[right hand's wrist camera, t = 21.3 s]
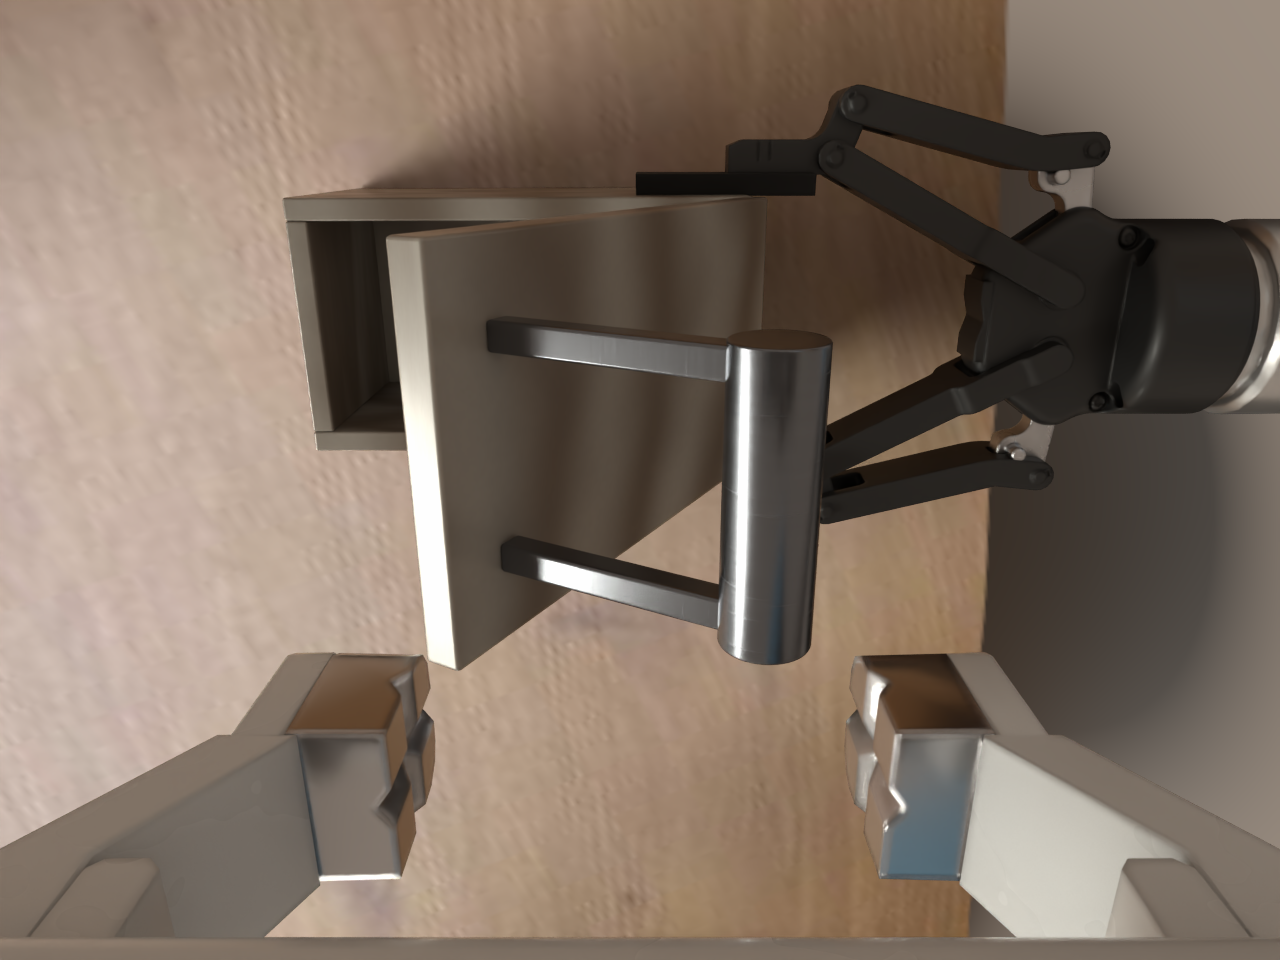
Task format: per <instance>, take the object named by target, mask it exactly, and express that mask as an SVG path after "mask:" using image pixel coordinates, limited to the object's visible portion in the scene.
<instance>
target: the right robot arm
mask: <svg viewBox="0 0 1280 960" xmlns="http://www.w3.org/2000/svg"><path fill="white" fill-rule="evenodd" d="M429 691H430V680H429V672H428V664H427V662H426V660H425V658H424V656H423V655H408V654H357V653H339V654H336V653H334V652H331V653H295V654H291V655H288V656H287V657H286V658H285V660H284V661H283V662H282V664H281V665H280V667H279V668H278V669H277V671H276V672H275V674H274V675H273V676H272V678H271V679H270V681H269V682H268V684H267V685H266V686H265V688H264V689H263V691H262V692H261V693H260V695H259V696H258V698H257V699H256V700H255V702H254V703H253V705H252V706H251V708H250V709H249V710H248V712H247V713H246V715H245V716H244V717H243V719H242V720H241V722H240V723H239V724H238V726H237V727H236V729H235V730H234V732H233V733H232V734H231V735H217V736H215V737H213V738H211V739H209V740H207V741H205V742H203V743H201V744H199V745H197V746H196V747H194V748H192V749H190V750H188V751H186V752H184V753H182V754H180V755H178V756H176V757H175V758H173V759H171V760H169V761H167V762H165V763H163V764H161V765H159V766H157V767H155V768H154V769H152V770H150V771H148V772H146V773H144V774H142V775H140V776H138V777H136V778H134V779H133V780H131V781H129V782H127V783H125V784H123V785H121V786H119V787H117V788H115V789H113V790H112V791H110V792H108V793H106V794H104V795H102V796H100V797H98V798H96V799H94V800H92V801H91V802H89V803H87V804H85V805H83V806H81V807H79V808H77V809H75V810H73V811H71V812H69V813H68V814H66V815H64V816H62V817H60V818H58V819H56V820H54V821H52V822H50V823H48V824H47V825H45V826H43V827H41V828H39V829H37V830H35V831H33V832H31V833H29V834H27V835H26V836H24V837H22V838H20V839H18V840H16V841H14V842H12V843H10V844H8V845H6V846H5V847H3V848H1V849H0V960H1280V849H1279V848H1277V847H1275V846H1273V845H1271V844H1269V843H1267V842H1265V841H1263V840H1261V839H1260V838H1258V837H1256V836H1254V835H1252V834H1250V833H1248V832H1246V831H1244V830H1242V829H1240V828H1239V827H1237V826H1235V825H1233V824H1231V823H1229V822H1227V821H1225V820H1223V819H1221V818H1220V817H1218V816H1216V815H1214V814H1212V813H1210V812H1208V811H1206V810H1204V809H1202V808H1200V807H1199V806H1197V805H1195V804H1193V803H1191V802H1189V801H1187V800H1185V799H1183V798H1181V797H1180V796H1178V795H1176V794H1174V793H1172V792H1170V791H1168V790H1166V789H1164V788H1162V787H1161V786H1159V785H1157V784H1155V783H1153V782H1151V781H1149V780H1147V779H1145V778H1143V777H1141V776H1140V775H1138V774H1136V773H1134V772H1132V771H1130V770H1128V769H1126V768H1124V767H1122V766H1120V765H1119V764H1117V763H1115V762H1113V761H1111V760H1109V759H1107V758H1105V757H1103V756H1101V755H1100V754H1098V753H1096V752H1094V751H1092V750H1090V749H1088V748H1086V747H1084V746H1082V745H1081V744H1079V743H1077V742H1075V741H1073V740H1071V739H1069V738H1067V737H1065V736H1063V735H1049V734H1048V733H1047V732H1046V730H1045V729H1044V727H1043V726H1042V725H1041V723H1040V722H1039V720H1038V719H1037V718H1036V716H1035V715H1034V713H1033V712H1032V711H1031V709H1030V708H1029V706H1028V705H1027V704H1026V702H1025V701H1024V699H1023V698H1022V697H1021V695H1020V694H1019V692H1018V691H1017V690H1016V688H1015V687H1014V685H1013V684H1012V683H1011V681H1010V680H1009V678H1008V677H1007V676H1006V674H1005V673H1004V671H1003V670H1002V669H1001V667H1000V666H999V664H998V663H997V662H996V660H995V659H994V658H993V656H991V655H989V654H987V653H985V652H976V653H951V654H912V655H872V656H855V659H854V662H853V666H852V670H851V679H850V691H851V693H852V696H853V699H854V701H855V704H856V707H857V710H856V711H855V712H854V713H853V714H852V715H851V716H850V718H849V719H848V720H847V721H846V734H845V762H846V773H847V779H848V784H849V788H850V792H851V795H852V798H853V801H854V804H855V805H857V806H858V807H859V808H860V809H862V810H863V811H864V812H866V815H865V825H864V835H865V838H866V841H867V844H868V847H869V850H870V853H871V856H872V859H873V862H874V864H875V867H876V870H877V873H878V876H879V879H912V880H948V881H960V885H961V886H962V887H963V888H964V889H965V890H966V891H967V892H968V893H969V894H970V895H972V896H973V897H974V898H975V899H976V900H977V901H978V902H979V903H980V904H981V905H982V906H983V907H984V908H986V909H987V910H988V911H989V912H990V913H991V914H992V915H993V916H994V917H995V918H996V919H997V920H998V921H1000V922H1001V923H1002V924H1003V925H1004V926H1005V927H1006V928H1007V929H1008V930H1009V931H1010V932H1011V933H1012V934H1014V935H1015V936H1016V937H265V936H266V935H267V934H268V933H269V932H270V931H271V930H272V929H273V928H274V927H275V926H277V925H278V924H279V923H280V922H281V921H282V920H283V919H284V918H285V917H286V916H287V915H288V914H290V913H291V912H292V911H293V910H294V909H295V908H296V907H297V906H298V905H299V904H300V903H301V902H302V901H304V900H305V899H306V898H307V897H308V896H309V895H310V894H311V893H312V892H313V891H314V890H315V889H317V888H318V887H319V886H320V881H331V880H366V879H401V877H402V874H403V871H404V868H405V865H406V862H407V859H408V856H409V853H410V850H411V847H412V844H413V841H414V838H415V835H416V825H415V815H414V812H416V811H417V810H418V809H420V808H421V807H422V806H423V805H425V804H426V801H427V798H428V795H429V791H430V788H431V785H432V778H433V771H434V764H435V731H434V721H433V720H432V719H431V718H430V716H429V715H428V714H427V713H426V712H425V711H424V710H423V707H424V704H425V701H426V699H427V696H428V693H429Z"/></svg>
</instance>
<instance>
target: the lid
mask: <svg viewBox="0 0 1280 960" xmlns="http://www.w3.org/2000/svg"><path fill="white" fill-rule="evenodd" d="M766 219H767V198H765V197H739V198H730V199H721V200H711V201H702V202H692V203H683V204H674V205H664V206H655V207H646V208H636V209H627V210H618V211H608V212H599V213H590V214H580V215H571V216H561V217H552V218H543V219H533V220H524V221H515V222H505V223H496V224H487V225H477V226H468V227H458V228H449V229H440V230H430V231H421V232H412V233H402V234H393V235H389V236H388V237H387V238H386V245H387V255H388V266H389V276H390V286H391V296H392V306H393V316H394V326H395V336H396V346H397V356H398V366H399V376H400V386H401V396H402V406H403V416H404V426H405V436H406V446H407V456H408V467H409V477H410V487H411V497H412V507H413V517H414V527H415V537H416V547H417V557H418V567H419V577H420V587H421V597H422V607H423V617H424V627H425V637H426V647H427V657H428V660H429V661H430V662H432V663H435V664H438V665H441V666H444V667H447V668H450V669H453V670H455V671H459V670H462V669H463V668H464V667H466V666H467V665H468V664H470V663H471V662H473V661H474V660H475V659H477V658H478V657H480V656H481V655H482V654H484V653H485V652H486V651H488V650H489V649H491V648H492V647H493V646H495V645H496V644H498V643H499V642H500V641H502V640H503V639H504V638H506V637H507V636H509V635H510V634H511V633H513V632H514V631H516V630H517V629H518V628H520V627H521V626H522V625H524V624H525V623H527V622H528V621H529V620H531V619H532V618H534V617H535V616H536V615H538V614H539V613H540V612H542V611H543V610H545V609H546V608H547V607H549V606H550V605H552V604H553V603H554V602H556V601H557V600H558V599H560V598H561V597H563V596H564V595H565V594H567V593H568V592H570V591H571V590H574V591H578V592H581V593H585V594H589V595H592V596H596V597H600V598H603V599H607V600H611V601H615V602H618V603H622V604H626V605H629V606H633V607H637V608H640V609H644V610H648V611H651V612H655V613H659V614H662V615H666V616H670V617H673V618H677V619H681V620H684V621H688V622H692V623H695V624H699V625H703V626H706V627H710V628H714V629H717V630H718V631H717V639H718V642H719V644H720V646H721V647H722V649H723V650H724V651H725V652H726V653H728V654H729V655H731V656H733V657H735V658H737V659H739V660H742V661H745V662H749V663H754V664H761V665H778V664H785V663H789V662H793V661H795V660H798V659H800V658H801V657H803V656H804V655H805V654H806V653H807V652H808V650H809V649H810V646H811V637H812V623H813V610H814V596H815V582H816V568H817V554H818V540H819V527H820V513H821V499H822V485H823V471H824V458H825V444H826V430H827V416H828V402H829V388H830V375H831V361H832V347H833V342H832V340H831V339H830V338H828V337H826V336H823V335H820V334H817V333H812V332H805V331H797V330H781V329H765V330H762V310H763V287H764V264H765V242H766ZM720 482H722V500H721V533H720V566H719V584H715V583H711V582H706V581H702V580H698V579H694V578H690V577H686V576H682V575H678V574H674V573H670V572H666V571H662V570H658V569H654V568H650V567H645V566H641V565H637V564H633V563H629V562H625V561H621V560H617V559H615V558H617V557H618V556H619V555H621V554H622V553H623V552H625V551H626V550H628V549H629V548H630V547H632V546H633V545H635V544H636V543H637V542H639V541H640V540H641V539H643V538H644V537H646V536H647V535H648V534H650V533H651V532H653V531H654V530H655V529H657V528H658V527H659V526H661V525H662V524H664V523H665V522H666V521H668V520H669V519H671V518H672V517H673V516H675V515H676V514H677V513H679V512H680V511H682V510H683V509H684V508H686V507H687V506H689V505H690V504H691V503H693V502H694V501H695V500H697V499H698V498H700V497H701V496H702V495H704V494H705V493H707V492H708V491H709V490H711V489H712V488H713V487H715V486H716V485H718V484H719V483H720Z"/></svg>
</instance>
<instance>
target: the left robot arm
mask: <svg viewBox="0 0 1280 960" xmlns="http://www.w3.org/2000/svg"><path fill="white" fill-rule="evenodd" d="M862 130H866V131H870V132H873V133H877V134H880V135H884V136H888V137H891V138H895V139H898V140H902V141H906V142H909V143H913V144H916V145H920V146H924V147H927V148H931V149H934V150H938V151H942V152H945V153H949V154H952V155H956V156H960V157H963V158H967V159H970V160H974V161H978V162H981V163H985V164H988V165H992V166H995V167H1000V168H1005V169H1013V170H1027V171H1029V173H1028V179H1029V183H1030V185H1031V187H1032V188H1033V189H1035V190H1036V191H1040V192H1046V193H1048V194H1049V195H1051V196H1052V198H1053V199H1054V202H1055V209H1053V210H1052V211H1050V212H1049V213H1047V214H1046V215H1044V216H1043V217H1041V218H1040V219H1038V220H1037V221H1035V222H1034V223H1032V224H1031V225H1029V226H1028V227H1026V228H1025V229H1023V230H1022V231H1020V232H1019V233H1017V234H1016V235H1015V236H1013V237H1012V238H1009V237H1008V236H1006V235H1004V234H1003V233H1001V232H999V231H997V230H995V229H993V228H991V227H988V226H986V225H985V224H983V223H981V222H979V221H978V220H976V219H974V218H973V217H971V216H969V215H968V214H966V213H964V212H962V211H961V210H959V209H957V208H956V207H954V206H952V205H951V204H949V203H947V202H946V201H944V200H942V199H940V198H939V197H937V196H935V195H934V194H932V193H930V192H929V191H927V190H925V189H924V188H922V187H920V186H919V185H917V184H915V183H913V182H912V181H910V180H908V179H907V178H905V177H903V176H902V175H900V174H898V173H897V172H895V171H893V170H891V169H890V168H888V167H886V166H885V165H883V164H881V163H880V162H878V161H876V160H875V159H873V158H871V157H869V156H868V155H866V154H864V153H863V152H861V151H859V150H858V149H856V148H855V145H856V143H857V141H858V138H859V136H860V133H861V131H862ZM1109 152H1110V141H1109V139H1108V138H1107V136H1106V135H1104V134H1103V133H1101V132H1077V133H1060V134H1051V135H1039V134H1035V133H1032V132H1028V131H1024V130H1021V129H1017V128H1014V127H1010V126H1007V125H1003V124H1000V123H996V122H993V121H989V120H986V119H982V118H979V117H975V116H971V115H968V114H964V113H961V112H957V111H954V110H950V109H947V108H943V107H940V106H936V105H932V104H929V103H925V102H922V101H918V100H915V99H911V98H908V97H904V96H901V95H897V94H893V93H890V92H886V91H883V90H879V89H876V88H872V87H869V86H865V85H855V86H851V87H848V88H845V89H842V90H840V91H837V92H836V93H835V94H834V95H833V96H832V97H831V99H830V101H829V106H828V111H827V114H826V116H825V119H824V121H823V123H822V126H821V128H820V129H819V131H818V132H817V133H816V134H815V135H814V136H812V137H811V138H808V139H805V140H738V141H736V142H733V143H731V144H729V145H726V158H725V172H637V173H636V195H749V196H815V188H816V175H822V176H823V177H825V178H827V179H828V180H830V181H832V182H834V183H835V184H837V185H839V186H841V187H842V188H844V189H846V190H847V191H849V192H851V193H853V194H854V195H856V196H858V197H859V198H861V199H863V200H865V201H866V202H868V203H870V204H871V205H873V206H875V207H877V208H878V209H880V210H882V211H883V212H885V213H887V214H889V215H890V216H892V217H894V218H896V219H897V220H899V221H901V222H902V223H904V224H906V225H908V226H909V227H911V228H913V229H914V230H916V231H918V232H920V233H921V234H923V235H925V236H926V237H928V238H930V239H932V240H933V241H935V242H937V243H938V244H940V245H942V246H944V247H945V248H947V249H948V250H949V251H951V252H952V253H954V254H956V255H957V256H959V257H961V258H963V259H964V260H966V261H968V262H969V263H971V264H973V265H975V268H974V270H973V272H972V274H971V275H966V280H965V289H964V299H965V306H966V316H965V319H964V322H963V324H962V327H961V329H960V332H959V337H958V345H957V352H959V353H960V354H961V356H959V357H957V358H955V359H953V360H951V361H949V362H947V363H945V364H943V365H941V366H939V367H937V368H936V369H935V370H934V372H933V373H932V374H931V375H929V376H927V377H925V378H923V379H921V380H919V381H917V382H915V383H913V384H911V385H909V386H907V387H905V388H903V389H901V390H899V391H897V392H895V393H893V394H890V395H888V396H886V397H884V398H882V399H880V400H878V401H876V402H874V403H872V404H870V405H868V406H866V407H864V408H862V409H860V410H858V411H856V412H854V413H852V414H850V415H848V416H845V417H843V418H841V419H839V420H837V421H835V422H833V423H831V424H829V425H827V430H826V444H825V458H824V471H823V485H822V499H821V513H820V523H821V524H830V523H835V522H839V521H844V520H848V519H852V518H857V517H861V516H866V515H870V514H875V513H879V512H883V511H888V510H892V509H897V508H901V507H905V506H910V505H914V504H919V503H923V502H927V501H932V500H936V499H941V498H945V497H949V496H954V495H958V494H963V493H967V492H972V491H976V490H980V489H985V488H989V487H994V486H998V487H1008V488H1019V489H1029V490H1041V489H1043V488H1046V487H1047V486H1048V485H1049V484H1050V483H1051V482H1052V479H1053V476H1054V472H1053V470H1052V467H1051V466H1049V465H1048V464H1047V463H1046V462H1045V459H1046V455H1047V451H1048V448H1049V444H1050V440H1051V437H1052V433H1053V429H1054V426H1055V425H1056V424H1059V423H1062V422H1064V421H1066V420H1068V419H1070V418H1072V417H1075V416H1078V415H1081V414H1086V413H1163V414H1164V413H1165V414H1169V413H1171V414H1173V413H1174V414H1181V413H1182V414H1184V413H1195V412H1199V411H1201V410H1204V411H1206V412H1208V413H1216V414H1262V413H1280V219H1237V220H1230V221H1228V222H1225V223H1223V222H1221V221H1219V220H1215V219H1112V218H1110V217H1107V216H1106V215H1104V214H1102V213H1101V212H1099V211H1098V210H1096V209H1094V208H1092V200H1093V186H1094V173H1095V166H1098V165H1100V164H1101V163H1102V162H1104V161H1105V159H1106V158H1107V157H1108V155H1109ZM1003 400H1005V401H1006V402H1008V403H1009V404H1010V405H1011V406H1013V407H1014V408H1015V409H1017V410H1018V411H1019V412H1020V413H1022V414H1023V416H1022V418H1021V421H1020V422H1019V423H1018V424H1017V425H1016V426H1014V427H1012V428H1010V429H1004V430H1000V431H997V432H995V433H993V434H992V436H991V440H990V441H974V442H966V443H961V444H956V445H952V446H948V447H943V448H939V449H935V450H930V451H926V452H922V453H917V454H913V455H909V456H905V457H900V458H896V459H892V460H887V461H883V462H879V463H874V464H870V465H866V466H862V467H857V468H853V469H849V468H851V467H853V466H855V465H857V464H859V463H861V462H863V461H865V460H867V459H870V458H872V457H874V456H876V455H878V454H880V453H882V452H884V451H886V450H888V449H890V448H893V447H895V446H897V445H899V444H901V443H903V442H905V441H907V440H909V439H911V438H914V437H916V436H918V435H920V434H922V433H924V432H926V431H928V430H930V429H932V428H934V427H937V426H939V425H941V424H943V423H945V422H947V421H949V420H951V419H953V418H955V417H957V416H960V415H964V414H974V413H977V412H980V411H982V410H984V409H986V408H988V407H990V406H992V405H994V404H996V403H998V402H1001V401H1003ZM847 469H849V470H847Z"/></svg>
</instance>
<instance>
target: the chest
mask: <svg viewBox="0 0 1280 960" xmlns="http://www.w3.org/2000/svg"><path fill="white" fill-rule="evenodd" d="M739 197H751V196H749V195H636V188H359V189H351V190H343V191H335V192H327V193H319V194H311V195H303V196H295V197H287V198H283V208H284V215H285V220H286V221H287V222H286V230H287V237H288V244H289V252H290V259H291V266H292V274H293V281H294V288H295V296H296V303H297V310H298V317H299V325H300V332H301V339H302V347H303V354H304V361H305V369H306V376H307V383H308V391H309V398H310V405H311V413H312V420H313V427H314V431H315V433H314V435H315V442H316V449H317V450H318V451H407V446H406V436H405V426H404V416H403V406H402V396H401V386H400V376H399V366H398V356H397V346H396V336H395V326H394V316H393V306H392V296H391V286H390V276H389V266H388V255H387V245H386V238H387V237H388V236H389V235H393V234H402V233H412V232H421V231H430V230H440V229H449V228H458V227H468V226H477V225H487V224H496V223H505V222H515V221H524V220H533V219H543V218H552V217H561V216H571V215H580V214H590V213H599V212H608V211H618V210H627V209H636V208H646V207H655V206H664V205H674V204H683V203H692V202H702V201H711V200H721V199H730V198H739Z"/></svg>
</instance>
